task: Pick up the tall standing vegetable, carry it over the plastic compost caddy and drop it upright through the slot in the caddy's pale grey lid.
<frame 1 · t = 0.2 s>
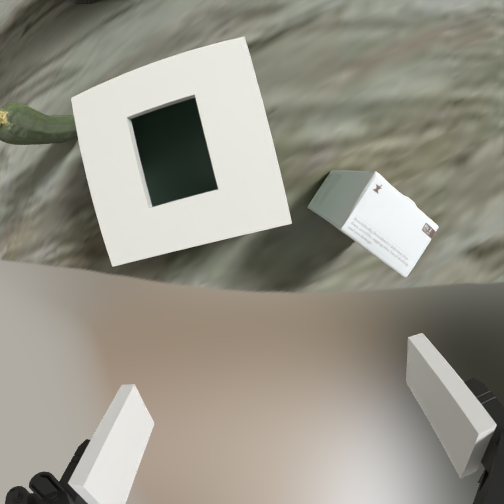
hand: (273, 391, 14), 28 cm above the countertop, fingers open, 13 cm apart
skincare box: (345, 205, 39), on the countertop
caddy: (200, 156, 38), on the countertop
vegetable: (77, 130, 37), on the countertop
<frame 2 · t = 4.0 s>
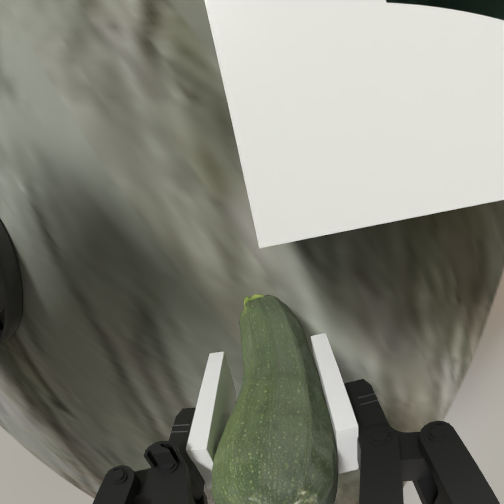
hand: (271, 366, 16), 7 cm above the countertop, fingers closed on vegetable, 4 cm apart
caddy: (352, 56, 18), on the countertop
vegetable: (268, 310, 22), on the countertop, touching gripper
when the fingers open (18 cm above the countertop, at t = 8.8 s): vegetable drops 10 cm, resting on caddy.
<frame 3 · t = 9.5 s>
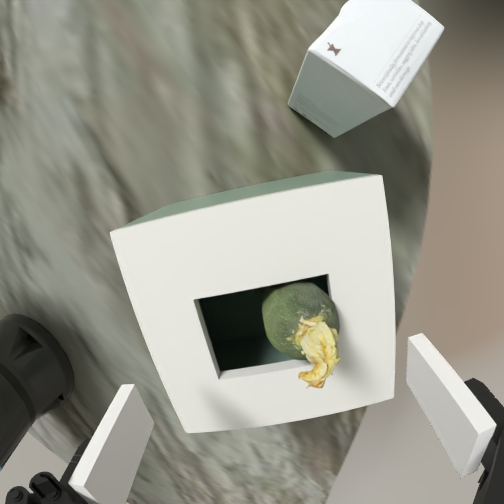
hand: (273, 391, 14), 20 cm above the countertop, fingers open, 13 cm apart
skincare box: (331, 90, 28), on the countertop
caddy: (265, 264, 33), on the countertop
vegetable: (259, 269, 32), point 1 cm above the countertop, touching caddy
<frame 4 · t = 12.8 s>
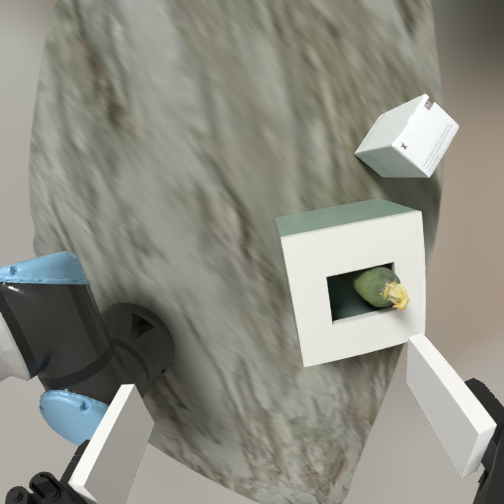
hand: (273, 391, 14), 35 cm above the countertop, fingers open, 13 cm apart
skincare box: (381, 143, 44), on the countertop
caddy: (336, 259, 48), on the countertop
vegetable: (333, 262, 47), point 1 cm above the countertop, touching caddy
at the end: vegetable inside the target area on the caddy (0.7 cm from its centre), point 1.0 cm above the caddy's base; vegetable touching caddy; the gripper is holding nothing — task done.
